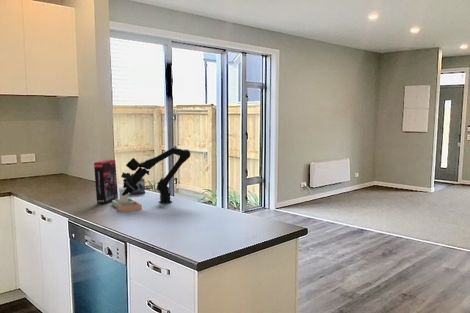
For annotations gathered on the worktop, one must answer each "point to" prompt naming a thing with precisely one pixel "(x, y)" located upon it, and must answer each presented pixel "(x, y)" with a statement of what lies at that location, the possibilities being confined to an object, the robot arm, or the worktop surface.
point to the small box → (140, 187)
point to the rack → (127, 205)
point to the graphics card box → (105, 181)
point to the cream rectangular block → (122, 198)
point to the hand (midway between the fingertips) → (121, 194)
